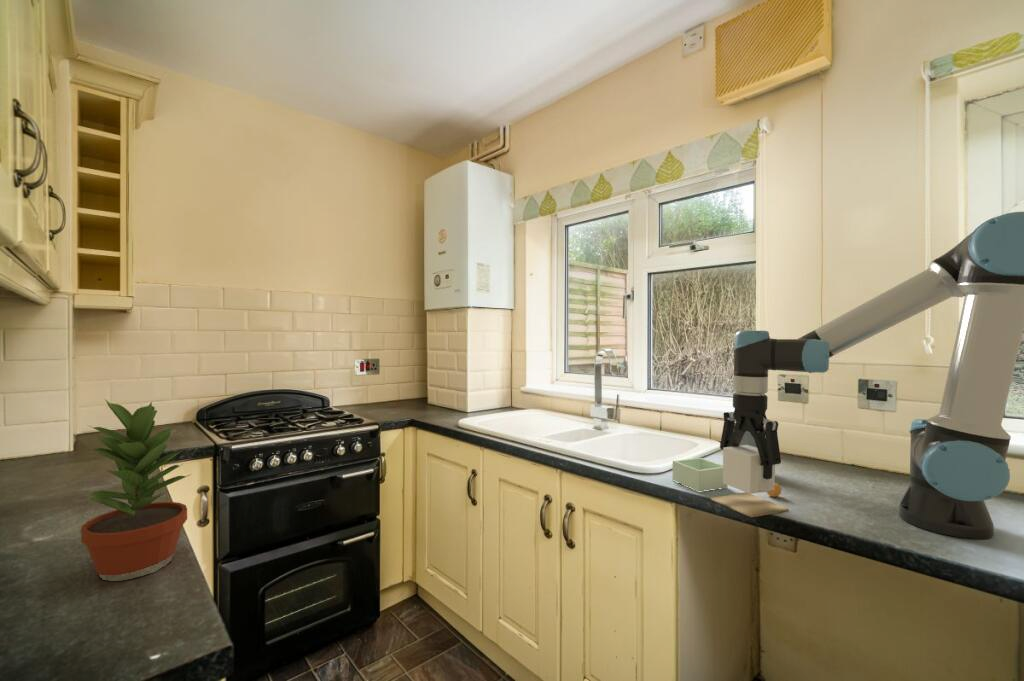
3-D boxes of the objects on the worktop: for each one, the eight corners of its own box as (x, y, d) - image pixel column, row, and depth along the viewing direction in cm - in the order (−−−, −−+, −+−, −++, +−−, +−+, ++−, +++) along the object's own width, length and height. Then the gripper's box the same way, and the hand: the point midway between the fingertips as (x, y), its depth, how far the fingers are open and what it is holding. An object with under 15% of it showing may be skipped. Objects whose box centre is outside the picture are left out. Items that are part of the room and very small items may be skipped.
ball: (784, 497, 116) (784, 483, 116) (774, 499, 115) (774, 485, 115) (771, 493, 119) (772, 479, 119) (761, 494, 118) (762, 481, 118)
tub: (727, 488, 123) (727, 467, 123) (698, 493, 119) (698, 470, 119) (699, 477, 132) (700, 457, 132) (672, 481, 129) (672, 460, 129)
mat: (788, 510, 108) (788, 508, 108) (751, 517, 103) (751, 515, 103) (745, 493, 119) (745, 492, 119) (710, 499, 114) (710, 498, 114)
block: (774, 489, 109) (775, 452, 109) (749, 493, 106) (750, 455, 106) (746, 479, 116) (746, 444, 116) (722, 483, 113) (723, 447, 113)
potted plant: (189, 571, 79) (188, 400, 78) (70, 599, 70) (68, 407, 70) (194, 538, 91) (193, 390, 91) (93, 559, 83) (91, 395, 82)
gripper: (801, 398, 102) (799, 498, 103) (727, 387, 122) (725, 471, 122) (778, 400, 100) (775, 502, 100) (705, 388, 119) (703, 474, 119)
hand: (747, 485), depth 111 cm, fingers closed on block, 8 cm apart
